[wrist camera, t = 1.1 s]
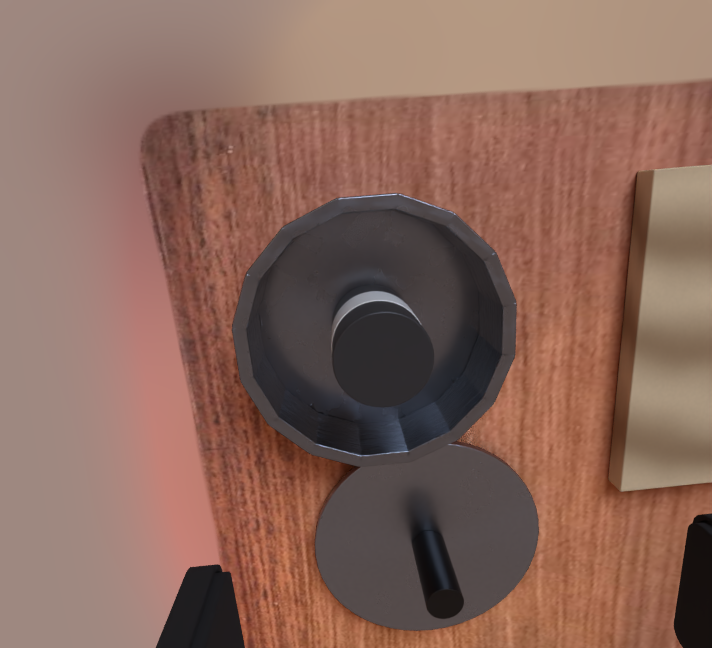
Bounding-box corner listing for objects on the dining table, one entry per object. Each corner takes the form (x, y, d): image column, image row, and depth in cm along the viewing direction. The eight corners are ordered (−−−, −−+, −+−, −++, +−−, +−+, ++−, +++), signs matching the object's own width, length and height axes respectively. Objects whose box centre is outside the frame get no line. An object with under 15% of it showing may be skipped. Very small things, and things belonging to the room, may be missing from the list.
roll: (327, 287, 27) (326, 315, 20) (408, 280, 27) (434, 305, 20) (335, 363, 28) (336, 414, 22) (412, 356, 28) (437, 404, 22)
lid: (303, 446, 30) (297, 505, 24) (535, 423, 31) (584, 476, 25) (326, 627, 35) (325, 714, 29) (528, 605, 35) (568, 686, 29)
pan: (231, 206, 26) (211, 207, 22) (489, 186, 26) (520, 183, 22) (266, 438, 30) (255, 478, 26) (487, 417, 31) (513, 452, 26)
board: (636, 171, 27) (654, 169, 25) (793, 158, 27) (820, 156, 25) (607, 479, 33) (620, 492, 31) (736, 466, 33) (754, 478, 31)
